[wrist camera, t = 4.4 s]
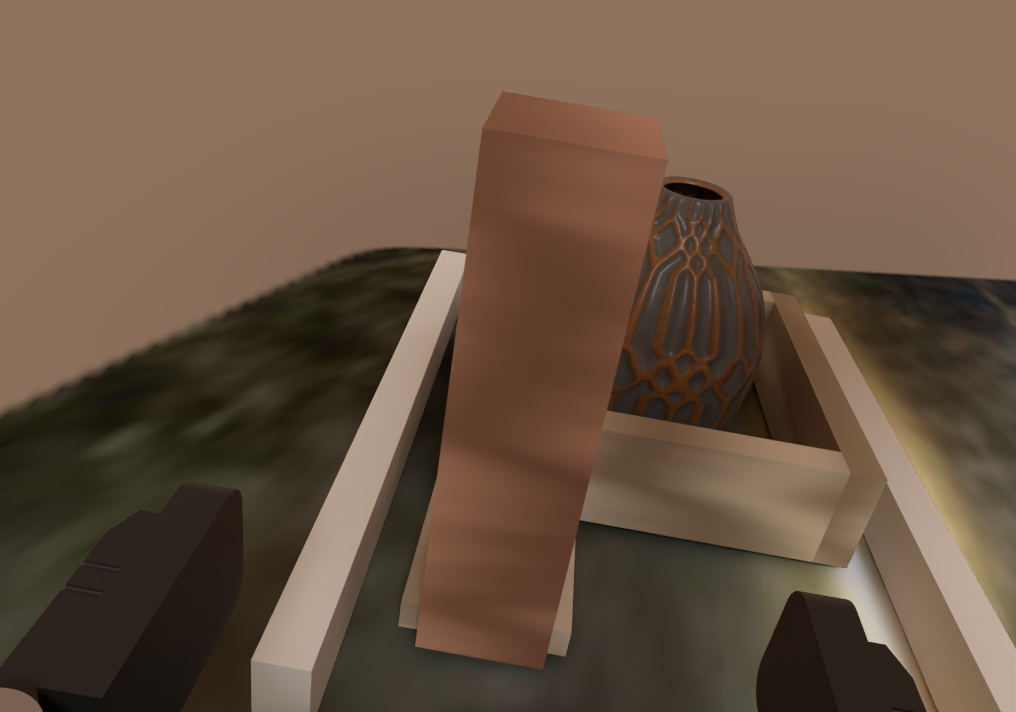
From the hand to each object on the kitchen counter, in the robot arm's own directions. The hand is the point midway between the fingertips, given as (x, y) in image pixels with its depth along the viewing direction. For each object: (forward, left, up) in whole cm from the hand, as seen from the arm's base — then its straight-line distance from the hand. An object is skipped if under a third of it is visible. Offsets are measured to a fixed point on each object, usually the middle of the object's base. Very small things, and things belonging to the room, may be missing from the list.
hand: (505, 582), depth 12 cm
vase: (-4, -16, -7) cm, 18 cm away
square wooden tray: (-4, -13, -7) cm, 15 cm away
